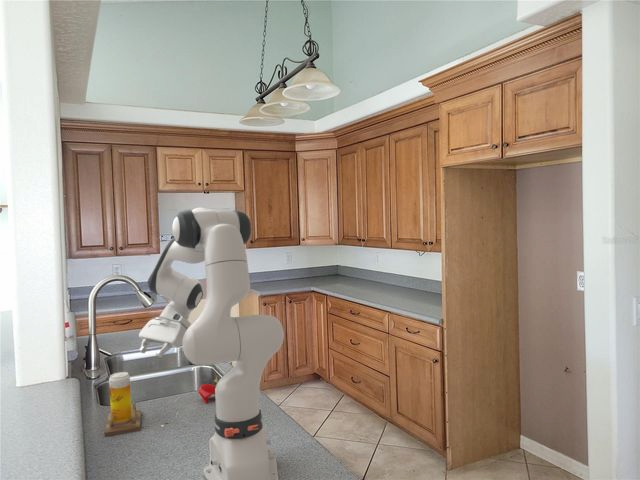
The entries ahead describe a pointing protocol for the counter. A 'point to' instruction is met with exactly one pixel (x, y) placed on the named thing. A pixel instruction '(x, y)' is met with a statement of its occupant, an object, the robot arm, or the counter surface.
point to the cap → (206, 391)
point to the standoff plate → (126, 427)
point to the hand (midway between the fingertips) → (149, 354)
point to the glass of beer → (120, 397)
